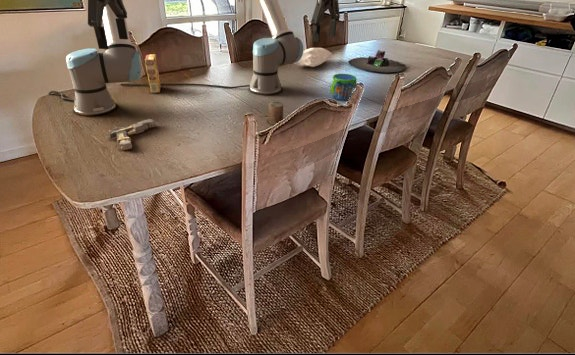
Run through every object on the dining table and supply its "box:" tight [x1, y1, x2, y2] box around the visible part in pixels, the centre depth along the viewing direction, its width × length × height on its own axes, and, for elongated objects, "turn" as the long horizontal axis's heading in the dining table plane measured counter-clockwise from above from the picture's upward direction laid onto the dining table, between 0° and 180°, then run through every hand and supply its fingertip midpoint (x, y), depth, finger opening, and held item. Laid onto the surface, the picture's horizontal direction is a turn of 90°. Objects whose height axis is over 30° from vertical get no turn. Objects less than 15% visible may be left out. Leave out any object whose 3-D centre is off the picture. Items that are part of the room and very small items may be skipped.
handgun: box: [108, 118, 157, 151], centre depth 130 cm, size 3×18×15 cm
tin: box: [267, 100, 284, 126], centre depth 144 cm, size 6×6×8 cm
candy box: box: [144, 54, 162, 94], centre depth 168 cm, size 9×4×15 cm, turn 13°
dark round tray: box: [347, 49, 407, 74], centre depth 221 cm, size 35×35×9 cm
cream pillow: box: [292, 47, 333, 68], centre depth 217 cm, size 24×35×9 cm
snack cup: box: [329, 73, 358, 101], centre depth 169 cm, size 16×10×10 cm
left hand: (114, 43), depth 119 cm, fingers open, 13 cm apart
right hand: (324, 39), depth 157 cm, fingers open, 13 cm apart
